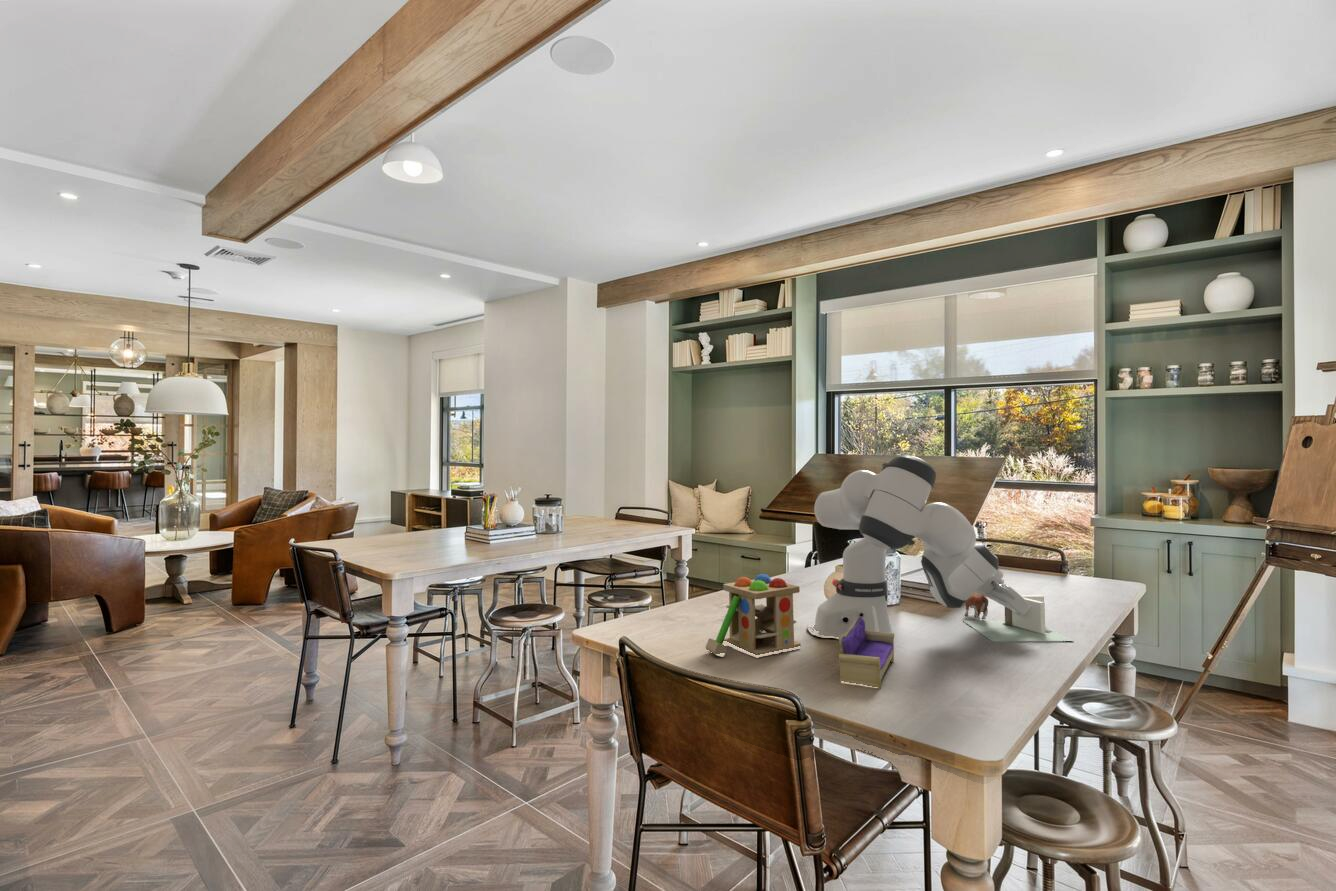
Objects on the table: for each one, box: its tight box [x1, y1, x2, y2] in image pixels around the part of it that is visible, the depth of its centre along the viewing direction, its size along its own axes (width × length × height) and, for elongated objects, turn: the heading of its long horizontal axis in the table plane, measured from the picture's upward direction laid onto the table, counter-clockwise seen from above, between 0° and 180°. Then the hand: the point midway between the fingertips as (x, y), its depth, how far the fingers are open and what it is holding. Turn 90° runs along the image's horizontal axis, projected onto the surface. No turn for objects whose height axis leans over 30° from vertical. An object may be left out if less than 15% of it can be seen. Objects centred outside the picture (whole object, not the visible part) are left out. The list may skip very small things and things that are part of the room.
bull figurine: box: [964, 592, 989, 621], centre depth 193 cm, size 4×13×8 cm, turn 174°
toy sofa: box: [838, 617, 895, 689], centre depth 148 cm, size 21×9×10 cm, turn 153°
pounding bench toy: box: [705, 573, 802, 655], centre depth 166 cm, size 23×14×18 cm, turn 121°
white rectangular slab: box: [1012, 598, 1046, 633], centre depth 178 cm, size 9×2×8 cm, turn 21°
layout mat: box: [963, 620, 1074, 643], centre depth 178 cm, size 20×20×1 cm
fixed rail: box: [1004, 594, 1045, 625], centre depth 183 cm, size 10×2×8 cm, turn 86°
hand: (1023, 614), depth 177 cm, fingers closed
